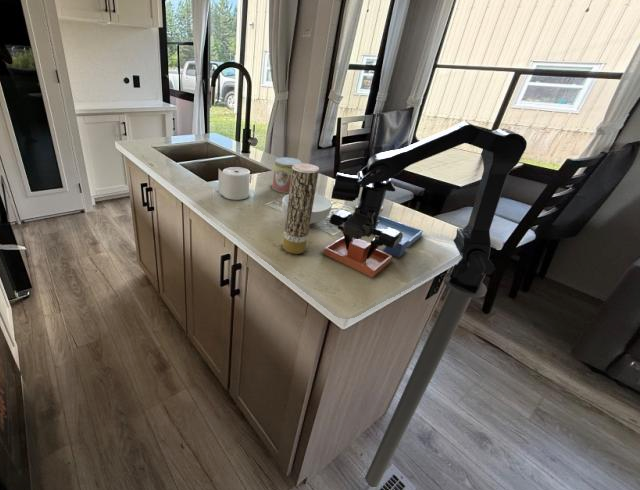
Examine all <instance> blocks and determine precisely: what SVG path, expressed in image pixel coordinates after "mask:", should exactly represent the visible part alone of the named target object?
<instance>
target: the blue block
mask: <svg viewBox="0 0 640 490" xmlns="http://www.w3.org/2000/svg"><path fill="white" fill-rule="evenodd" d="M408 241H409V240H407V239H404V238H402V240H401V242H400V243H398V244H397V245H396V246H395V247H393V248H390V247H387V246H385V247H384V250H383V252H384V253H387V254H389V255H392V257H396V258H398V259H399V258H400V257H401V256H403V255H404V254H405V253H406V250H407V248H408V247H407V244H408Z"/></svg>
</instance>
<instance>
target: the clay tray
mask: <svg viewBox="0 0 640 490" xmlns="http://www.w3.org/2000/svg"><path fill="white" fill-rule="evenodd" d="M353 240H354V239H353ZM353 240H352V241H353ZM347 252H348V250H347V249H346V244H345V238H344V235H343V236H341V238H338V239H337V240H335V241H333V242H332V243H330V244H329V245H327V246H325V247H324V249H323V255H325V256H327V257H328V258H331V259H333V260H335V261H336V262H337V261H338V262H339V263H341V264H343V265H345V266H348V267H349V268H352V269H353V270H355V271H358V272H360V273H362V274H364V275H367V276H368V277H371V278H374V277H375V276H377V274H379V273H380V272H381V271H382V270H383V269H384V268H386V267H387V266H388V265H389V264H390V263H391V262H392V259H393V255H391V254H388V253H386V252H384V251H382V250H380V249H378V248H377V249H376V250H375V252H374V253H373V254H372V255H371V257H370V258H369V259H367V258H366V259H364V260H363V261H362V262H359V261H357V260H355V259H353V258H350V257H348V256H347Z"/></svg>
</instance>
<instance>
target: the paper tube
mask: <svg viewBox="0 0 640 490" xmlns="http://www.w3.org/2000/svg"><path fill="white" fill-rule="evenodd" d="M319 169H320V167H319V166H317V165H315V164H312V163H306V162H305V163H304V162H302V163H297V164H294V165H293V167H292V175H291V183H290V191H289V193H288V194H289V199H288V207H287V215H286V214H285V216H286V217H285V223H284V230H283V231H284V232H283V241H282V248H283V250H284V251H285V252H287V253H289V254H292V255H300V254H302V253H304V252H305V251H306V249H307V243H308V239H309V231H310V225H311V224H310V220H311V214H312V208H313V202H314V196H315V194H316V188H317V183H318V178H319V177H318V176H319V171H320V170H319Z"/></svg>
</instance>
